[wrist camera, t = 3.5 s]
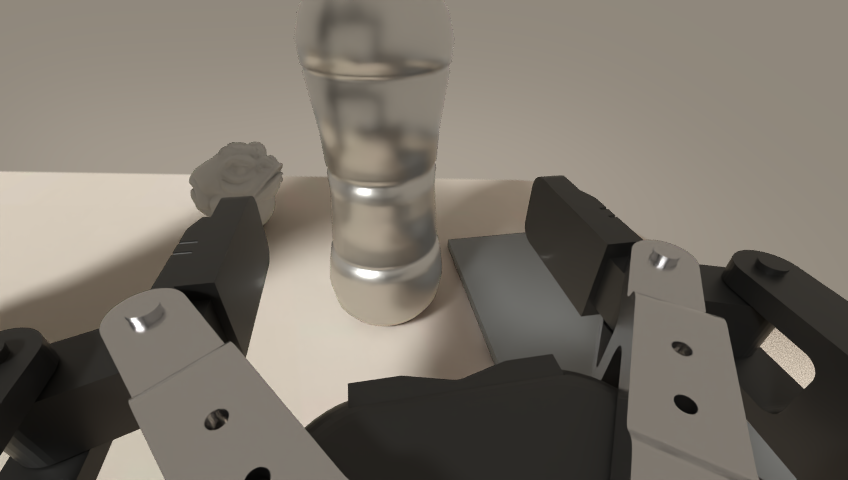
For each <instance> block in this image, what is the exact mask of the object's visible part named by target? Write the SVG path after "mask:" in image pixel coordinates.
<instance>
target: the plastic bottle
mask: <svg viewBox="0 0 848 480" xmlns="http://www.w3.org/2000/svg"><path fill="white" fill-rule="evenodd" d="M294 40H295V44H296V49H297V53H298V58H299V63H300V65H301V66H302V67H303V70H302V73H303V76H304V80H305V83H306V87H307V90H308V94H309V97H310V101H311V104H312V108H313V111H314V115H315V118H316V122H317V125H318V128H319V132H320V138H321V143H322V148H323V154H324V159H325V163H326V166H327V167H328V169H327V174H328V180H329V185H330V192H331V214H332V237H333V241H332V247H331V257H330V279H331V283H332V286H333V289H334V291H335V294H336V297H337V299H338V301H339V303H340V305H341V307H342V308H343V309H344V310H345V311H346V312H347V313H348V314H350V315H352V316H353V317H355V318H356V319H358V320H360V321H361V322H364V323H367V324H370V325H375V326H391V325H397V324H401V323H404V322H407V321H409V320H411V319H413V318H414V317H416V316H417V315H419V314H420V313H421V312H422V311H423V310H424V309H425V308H426V307H427V306H428V305H429V304H430V303H431V302H432V300H433V299H434V297H435V295H436V292H437V288H438V285H439V281H440V277H441V274H442V261H441V251H440V244H439V240H438V236H437V231H436V210H435V189H434V181H435V171H436V164H435V161H436V159H437V149H438V138H439V128H440V122H441V117H442V111H443V106H444V100H445V95H446V89H447V84H448V78H449V73H450V68H449V65H450V63H451V62H452V54H453V45H454V34H453V29H452V24H451V18H450V13H449V10H448V8H447V5H446V3H445V1H444V0H301V1H300V4H299V7H298V9H297V15H296V24H295V34H294Z"/></svg>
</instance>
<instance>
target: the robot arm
mask: <svg viewBox="0 0 848 480" xmlns="http://www.w3.org/2000/svg"><path fill="white" fill-rule="evenodd" d="M525 232H526V236H527V239H528V241H529V243H530V244H531V246H532V247H533V248H534V250H535V251H536V253H537V254H538V256H539V257H540V258H541V260H542V261H543V263H544V264H545V266H546V267H547V268H548V270H549V271H550V273H551V274H552V276H553V277H554V278H555V280H556V281H557V283H558V284H559V286H560V287H561V289H562V290H563V291H564V293H565V294H566V296H567V297H568V299H569V300H570V301H571V303H572V304H573V306H574V307H575V309H576V310H577V311H578V313H579V314H580V316H581V317H582V316H590V315H598V314H600V315H601V316H602V321H601V323H600V326H599V330H598V335H597V341H596V347H595V353H594V359H593V365H592V371H591V376H588V375H584V374H581V373H578V372H573V371H568V370H561V368H560V366H559V364H558V363H557V361H556V359H555V357H554V356H553V354H548V355H541V356H534V357H527V358H520V359H513V360H506V361H503V362H501V363H499V364H496V365H494V366H491V367H489V368H487V369H484V370H482V371H480V372H477V373H475V374H472V375H470V376H468V377H465V378H463V379H459V380H447V379H435V378H423V377H411V376H396V377H389V378H382V379H376V380H369V381H362V382H355V383H348V401H346V402H344V403H342V404H339V405H337V406H335V407H333V408H332V409H330V410H328V411H326V412H325V413H323V414H322V415H320V416H319V417H317V418H316V419H314V420H313V421H312V422H311V423H310V424H309V425H307V426H306V427H305V428H304V427H303V426H302V425H301V423H300V422H299V421H298V420H297V419H296V417H295V416H294V415H293V414H292V413H291V411H290V410H289V409H288V408H287V407H286V405H285V404H284V403H283V402H282V401H281V399H280V398H279V397H278V396H277V395H276V394H275V392H274V391H273V390H272V389H271V388H270V386H269V385H268V384H267V383H266V382H265V380H264V379H263V378H262V377H261V376H260V374H259V373H258V372H257V371H256V370H255V368H254V367H253V366H252V365H251V364H250V362H249V361H248V360H247V359H246V355H247V351H248V347H249V343H250V339H251V335H252V331H253V327H254V323H255V319H256V315H257V311H258V307H259V303H260V299H261V294H262V290H263V286H264V282H265V278H266V274H267V270H268V266H269V248H268V243H267V239H266V235H265V232H264V228H263V224H262V221H261V217H260V213H259V210H258V206H257V203H256V200H255V198H254V197H253V196H239V197H224V198H221V199H220V201H219V203H218V205H217V206H216V208H215V210H214V212H213V214H212V216H211V217H202V218H201V219H200V220H198V221H197V222H196V223H194V224H193V225H192V226H190V227H189V228H188V229H187V230H186V232H185V233H184V235H183V237H182V238H181V240H180V242H179V243H180V244H178V245H177V247H176V248H175V250H174V251H173V255H171V256H170V258H169V260H168V261H167V263H166V265H165V266H164V268H163V270H162V271H161V273H160V275H159V276H158V278H157V280H156V281H155V283H154V285H153V286H152V288H151V290H148V291H144V292H141V293H138V294H136V295H133V296H131V297H129V298H127V299H125V300H124V301H122V302H120V303H119V304H118V305H116V306H115V307H113V308H112V309H111V310H110V311H109V312H108V313H107V314H106V315H105V317H104V318H103V320H102V321H101V324H100V328H99V329H96V330H93V331H90V332H87V333H84V334H80V335H77V336H74V337H71V338H67V339H64V340H61V341H58V342H54V343H51V344H49V343H48V342H47V340H46V339H45V338H44V337H43V336H42V334H41V333H40V332H39V331H37V330H35V329H31V328H13V329H8V330H3V331H0V455H1V454H2V452H3V451H4V452H5V453H7V454H8V455H9V456H10V457H9V459H8V460H7V462H6V464H5V465H4V467H3V468H2V470H1V472H0V480H96V479H97V476H98V474H99V472H100V469H101V467H102V465H103V462H104V460H105V457H106V455H107V453H108V450H109V448H110V446H111V443H112V441H113V440H114V439H116V438H119V437H121V436H123V435H126V434H128V433H131V432H133V431H136V430H138V429H141V431H142V433H143V435H144V437H145V439H146V441H147V443H148V445H149V447H150V450H151V452H152V454H153V456H154V458H155V460H156V462H157V464H158V466H159V468H160V470H161V472H162V474H163V477H164V479H165V480H763V479H762V478H760V477H758V475H757V471H756V466H755V461H754V456H753V451H752V446H751V441H750V436H749V431H748V426H747V421H748V422H749V423H750V424H751V426H752V427H753V428H754V429H755V430H756V431H757V433H758V434H759V435H760V436H761V437H762V439H763V440H764V441H765V442H766V443H767V444H768V446H769V447H770V448H771V449H772V450H773V452H774V453H775V454H776V455H777V456H778V457H779V459H780V460H781V461H782V462H783V463H784V465H785V466H786V467H787V468H788V469H789V470H790V472H791V473H792V474H793V475H794V476H795V478H796V479H797V480H848V301H847V300H845V299H844V298H842V297H841V296H840V295H838V294H836V293H835V292H834V291H832V290H831V289H829V288H828V287H826V286H825V285H823V284H822V283H820V282H819V281H817V280H816V279H815V278H813V277H812V276H810V275H809V274H807V273H806V272H804V271H803V270H801V269H800V268H799V267H797V266H795V265H794V264H792V263H790V262H789V261H787V260H785V259H782V258H780V257H777V256H775V255H772V254H769V253H765V252H760V251H754V250H743V251H738V252H736V253H735V254H734V255H733V256H732V258H731V260H730V261H729V263H728V265H727V266H726V267H717V266H708V265H699V264H698V262H697V260H696V259H695V258H694V257H693V256H692V255H691V254H690V253H688V252H687V251H685V250H684V249H682V248H680V247H678V246H676V245H673V244H670V243H667V242H663V241H658V240H643V239H641V238H640V237H639V236H638V235H637V234H636V233H635V232H633V231H632V230H631V229H630V228H629V227H628V226H627V225H626V224H624V223H623V222H622V221H621V220H620V219H619V218H617V217H615V215H614V214H613V213H612V212H611V211H610V210H609V209H606V207H605V206H604V205H603V204H602V203H601V202H600V201H598V200H597V199H596V198H594V197H593V196H591V195H589V194H586V193H585V192H582V191H580V190H579V189H578V188H577V187H576V186H575V185H573V184H572V183H571V182H570V181H569V180H568V179H567V178H566V177H564V176H547V177H538V178H536V179H535V181H534V183H533V187H532V191H531V196H530V201H529V206H528V211H527V216H526V221H525ZM775 327H776V328H777V329H778V330H779V331H780V332H781V333H783V334H784V335H785V336H786V337H787V338H788V339H789V340H791V341H792V342H793V343H794V344H795V345H796V346H798V347H799V348H800V349H801V350H802V351H803V352H804V353H806V354H807V355H808V357H809V358H810V359H811V361H812V362H813V364H814V367H815V377H814V380H813V381H812V382H811V383H810V384H809V385H808V386H807V387H806V388H805V389H803V388H802V387H801V386H800V385H799V384H798V383H797V382H796V381H795V380H794V379H793V378H792V377H791V376H790V375H789V374H788V373H787V372H786V371H785V370H784V369H783V368H781V367H780V366H779V365H778V364H777V363H776V362H775V361H774V360H773V359H772V358H771V357H770V356H769V355H768V354H767V353H766V352H765V351H764V350H763V349H762V348H761V347H760V345H761V344H762V343H763V342H764V340H765V339H766V338H767V337H768V336H769V334H770V333H771V332H772V331H773V329H774V328H775ZM746 420H747V421H746Z"/></svg>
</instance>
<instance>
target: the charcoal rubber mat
mask: <svg viewBox="0 0 848 480" xmlns="http://www.w3.org/2000/svg"><path fill="white" fill-rule="evenodd" d="M448 248H449V250H450V253H451V255H452V258H453V261H454V263H455V266H456V268H457V271H458V273H459V276H460V278H461V281H462V283H463V286H464V288H465V291H466V293H467V296H468V298H469V301H470V303H471V306H472V308H473V311H474V313H475V316H476V318H477V321H478V323H479V326H480V328H481V331H482V333H483V336H484V338H485V341H486V344H487V346H488V349H489V351H490V354H491V356H492V359H493V361H494V364H495V365H496V364H499V363H501V362H503V361H506V360H513V359H520V358H527V357H534V356H541V355H548V354H553V356H554V357H555V359H556V361H557V363H558V364H559V366H560V368H561V370H568V371H573V372H578V373H581V374H584V375H588V376H591V371H592V365H593V359H594V353H595V347H596V341H597V335H598V330H599V326H600V323H601V321H602V316H601V315H600V314H598V315H590V316H582V317H581V316H580V314H579V313H578V311H577V310H576V309H575V307H574V306H573V304H572V303H571V301H570V300H569V299H568V297H567V296H566V294H565V293H564V291H563V290H562V289H561V287H560V286H559V284H558V283H557V281H556V280H555V278H554V277H553V276H552V274H551V273H550V271H549V270H548V268H547V267H546V266H545V264H544V263H543V261H542V260H541V258H540V257H539V256H538V254H537V253H536V251H535V250H534V248H533V247H532V246H531V244H530V243H529V241H528V239H527V236H526V233H515V234H504V235H493V236H483V237H472V238H461V239H451V240H448ZM746 421H747V420H746ZM747 426H748V431H749V436H750V441H751V446H752V451H753V456H754V461H755V466H756V471H757V475H758V477H760V478H762V479H763V480H797V479H796V478H795V476H794V475H793V474H792V473H791V472H790V470H789V469H788V468H787V467H786V466H785V465H784V463H783V462H782V461H781V460H780V459H779V457H778V456H777V455H776V454H775V453H774V452H773V450H772V449H771V448H770V447H769V446H768V444H767V443H766V442H765V441H764V440H763V439H762V437H761V436H760V435H759V434H758V433H757V431H756V430H755V429H754V428H753V427H752V426H751V425H750V423H749V422H748V421H747Z"/></svg>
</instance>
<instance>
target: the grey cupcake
mask: <svg viewBox="0 0 848 480" xmlns="http://www.w3.org/2000/svg"><path fill="white" fill-rule="evenodd" d="M282 166H283V164H282V163H279V162H278V161H277V160H276V158H275V157H274V156H272V155H269V156H267V155H266V149H265V147H264V145H263V144H261V143H260V142H251V143H249V144H246V143H241V142H238V143H237V142H236V143H235V142H232V143H229V144H228V145H227V146H225V147H223V148H221V150H220V151H219V152H218V154H216V155H215V156H213V158H211V159H209V160H207V161H206V162H204V163H203V164H202V165H200V166H199V167H197V168H196V169H195V170H194V171H193V173H192V174H191V176H190V179H189V183H190V184H191V185H192V187H193V189H192V190H191V198H192V200H193V202H194V203H195V205H196V207H197V209H198V210H199V211H201V212H202V213H204V214H205V215H206V216H208V217H211V216H212V214H213V212H214V210H215V208H216V206H217V205H218V203H219V201H220V199H221V198H224V197H239V196H253V197H254V198H255V200H256V203H257V206H258V210H259V213H260V217H261V221H262V224H263V225H264V224H265V223H266V222H267V221H268V220H269V219H270V217H271V216H272V214H273V211H274V208H275V194H276V193H277V191H278V189H279V187H280V182H282V181H283V179H282V174H283V173H282V172H281V169H282Z"/></svg>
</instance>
